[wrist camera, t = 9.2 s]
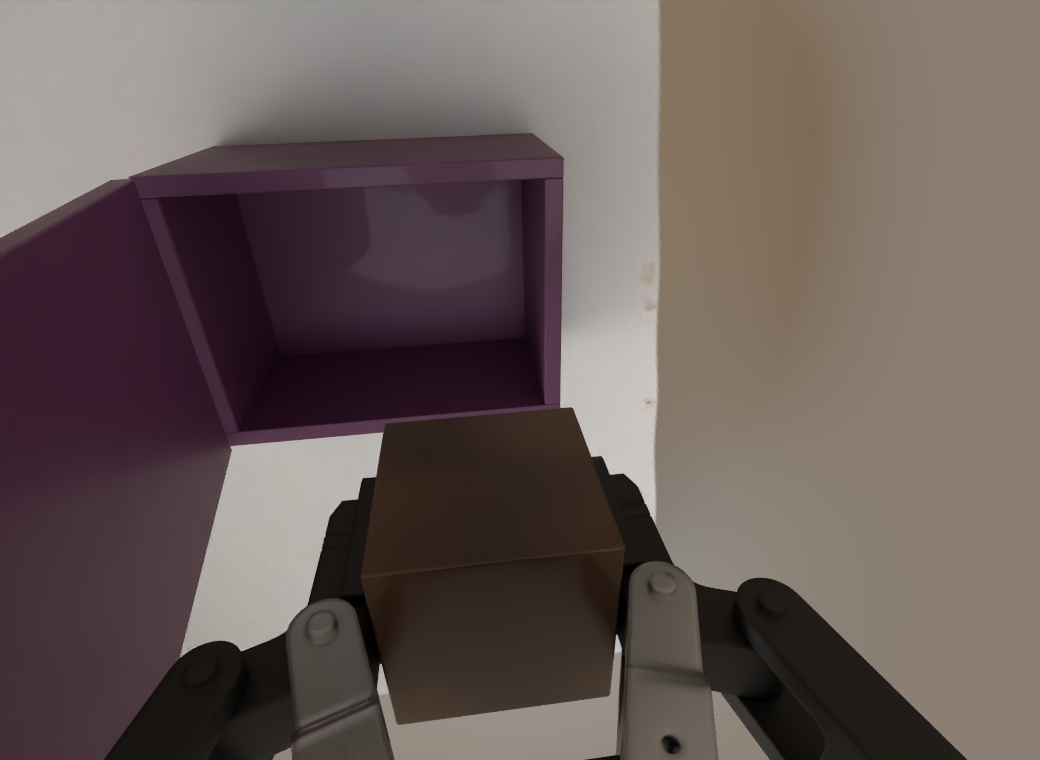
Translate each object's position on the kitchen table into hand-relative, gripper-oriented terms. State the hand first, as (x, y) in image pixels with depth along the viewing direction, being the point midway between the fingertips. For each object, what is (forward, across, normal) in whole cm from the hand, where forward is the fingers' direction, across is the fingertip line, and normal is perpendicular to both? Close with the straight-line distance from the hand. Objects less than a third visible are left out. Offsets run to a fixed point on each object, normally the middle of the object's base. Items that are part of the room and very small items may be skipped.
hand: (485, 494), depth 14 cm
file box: (+21, +4, 0) cm, 22 cm away
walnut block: (0, 0, 0) cm, 0 cm away
